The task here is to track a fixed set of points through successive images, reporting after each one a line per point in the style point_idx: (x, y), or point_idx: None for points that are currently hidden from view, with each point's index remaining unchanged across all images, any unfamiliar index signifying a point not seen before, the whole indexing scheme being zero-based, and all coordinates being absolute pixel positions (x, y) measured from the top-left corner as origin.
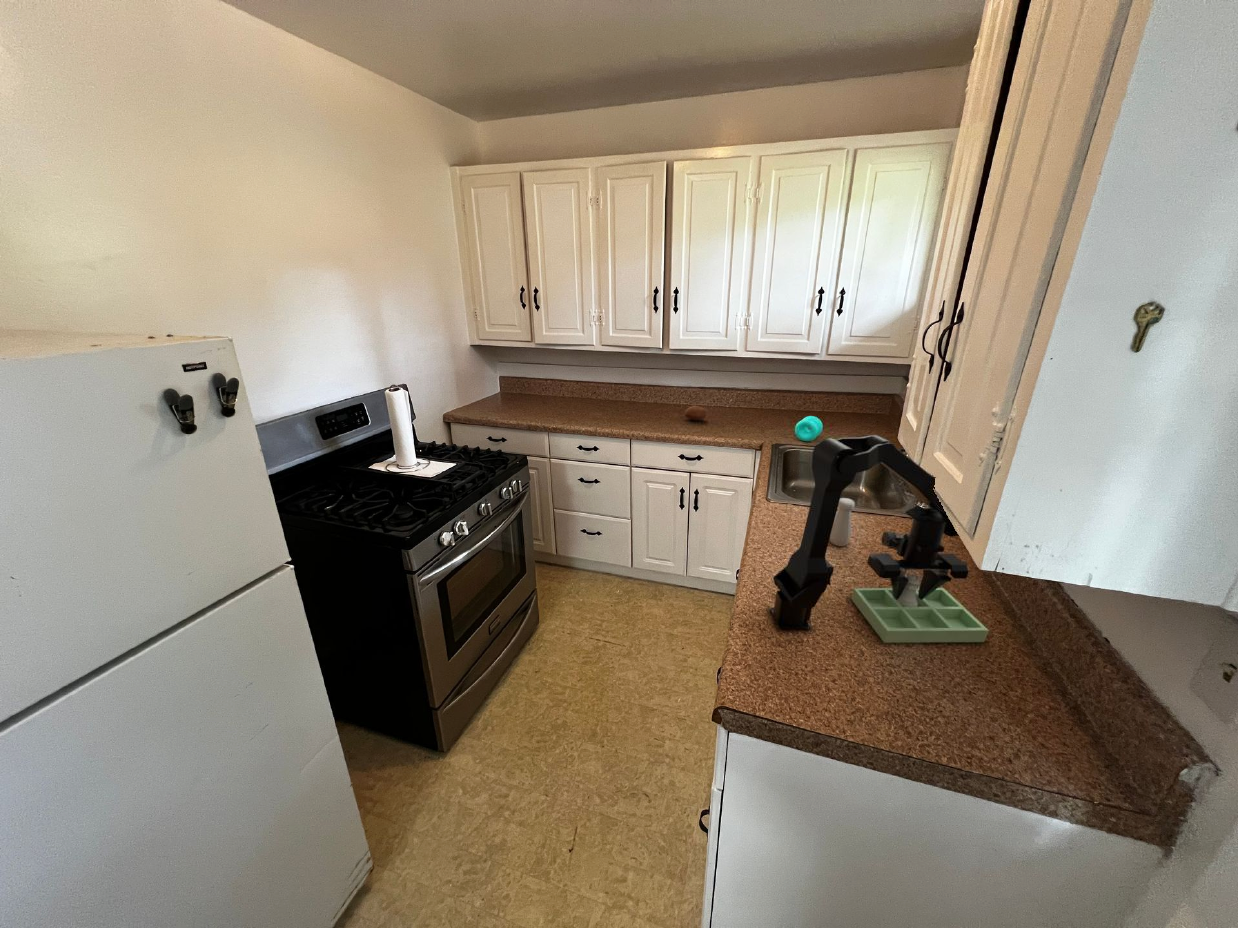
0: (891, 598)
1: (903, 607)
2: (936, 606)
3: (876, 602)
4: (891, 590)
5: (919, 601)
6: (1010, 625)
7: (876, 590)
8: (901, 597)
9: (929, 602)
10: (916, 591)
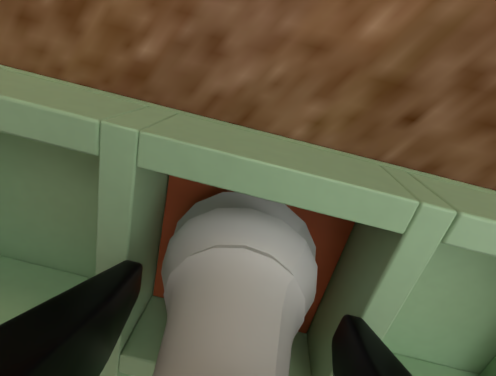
0: (96, 267)
1: (120, 360)
2: (464, 292)
3: (83, 155)
4: (177, 175)
5: (345, 297)
6: None
7: (19, 136)
8: (167, 305)
9: (467, 252)
10: (412, 260)
